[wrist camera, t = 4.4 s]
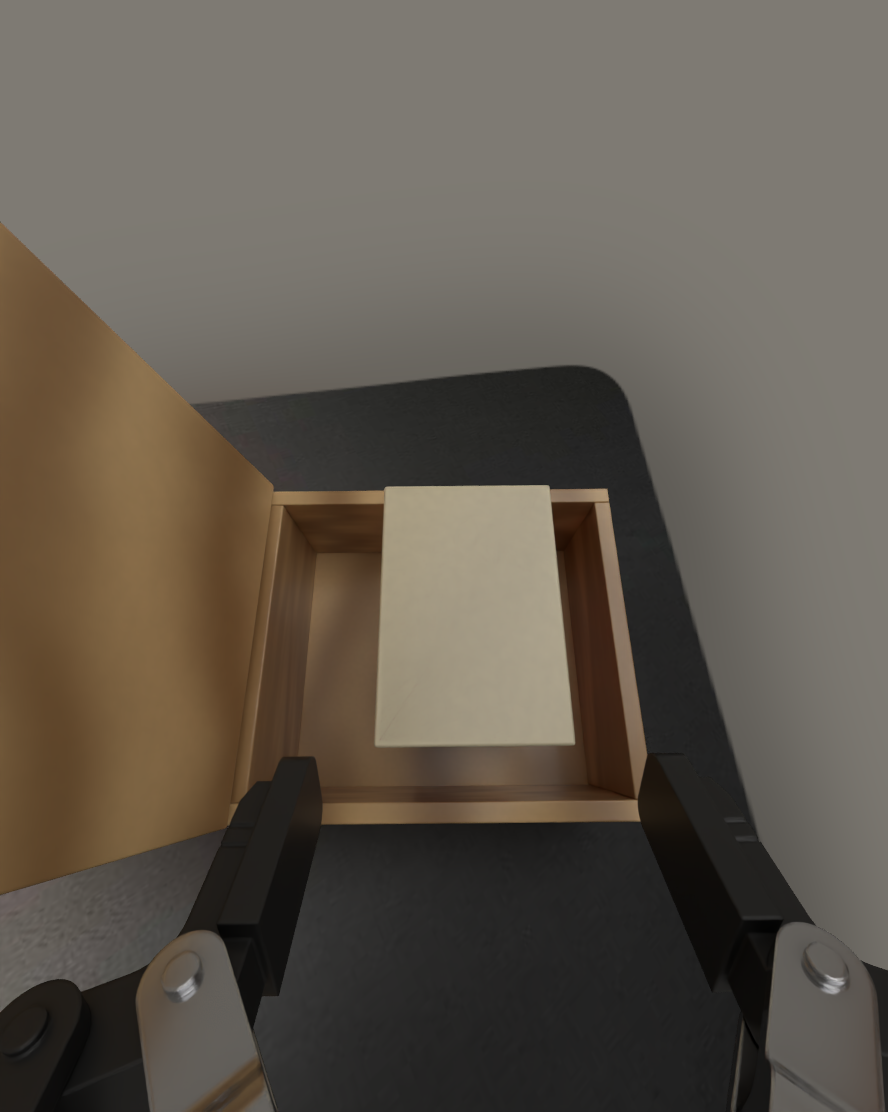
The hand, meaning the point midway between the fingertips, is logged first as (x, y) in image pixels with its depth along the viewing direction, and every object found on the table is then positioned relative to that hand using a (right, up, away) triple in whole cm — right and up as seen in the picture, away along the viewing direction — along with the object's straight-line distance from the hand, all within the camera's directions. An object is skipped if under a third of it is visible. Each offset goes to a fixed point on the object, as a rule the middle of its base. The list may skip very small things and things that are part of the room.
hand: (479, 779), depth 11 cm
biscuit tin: (0, 0, +13) cm, 13 cm away
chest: (-1, 0, +14) cm, 14 cm away
